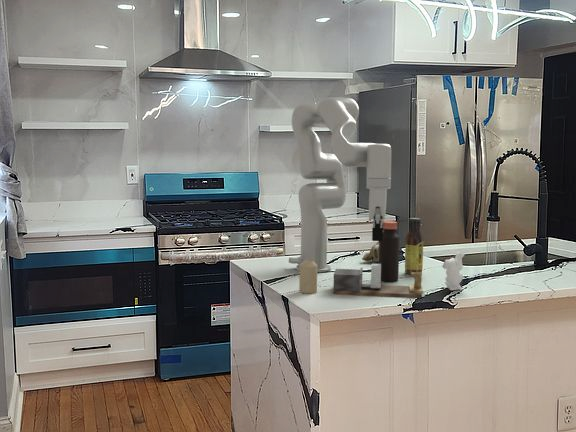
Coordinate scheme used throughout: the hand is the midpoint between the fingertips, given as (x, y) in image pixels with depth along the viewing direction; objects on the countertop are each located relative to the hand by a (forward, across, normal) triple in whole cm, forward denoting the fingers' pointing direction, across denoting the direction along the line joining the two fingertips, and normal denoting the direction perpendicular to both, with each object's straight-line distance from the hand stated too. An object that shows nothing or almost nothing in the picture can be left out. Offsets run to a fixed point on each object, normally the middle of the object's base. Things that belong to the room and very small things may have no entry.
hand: (377, 238), depth 210 cm
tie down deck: (+17, 0, +1) cm, 17 cm away
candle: (+17, +4, -21) cm, 28 cm away
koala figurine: (+17, -8, +25) cm, 31 cm away
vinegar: (+17, -18, +4) cm, 25 cm away
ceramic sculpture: (+17, -51, 0) cm, 54 cm away
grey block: (+16, 0, -6) cm, 17 cm away
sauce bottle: (+17, -31, +13) cm, 38 cm away
